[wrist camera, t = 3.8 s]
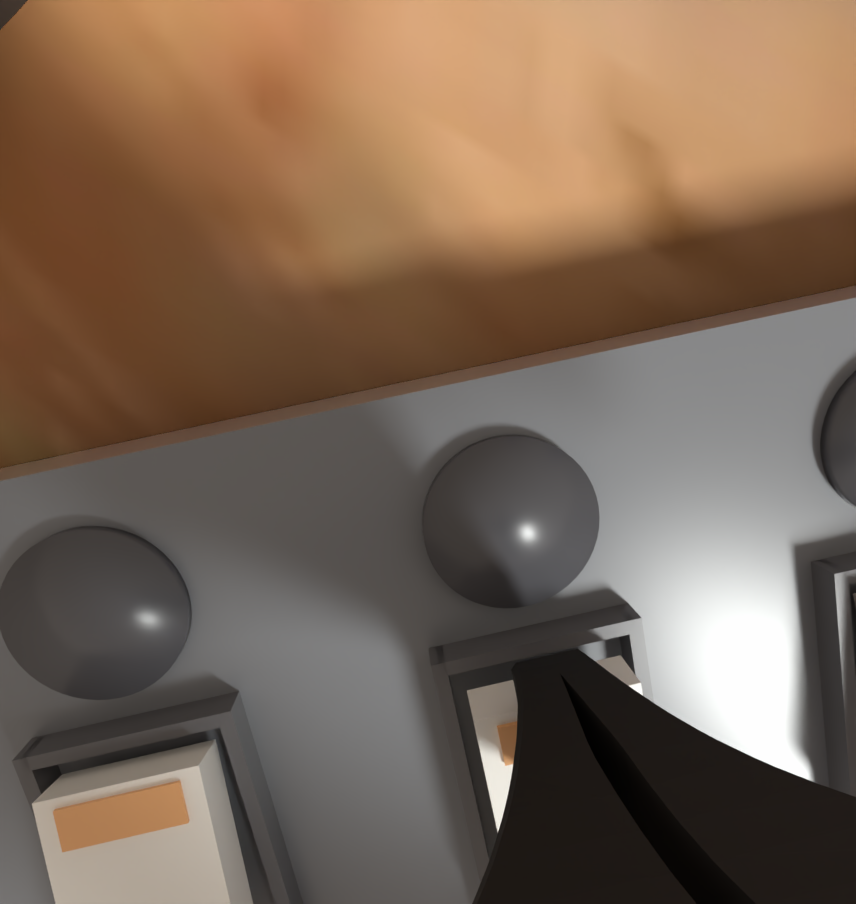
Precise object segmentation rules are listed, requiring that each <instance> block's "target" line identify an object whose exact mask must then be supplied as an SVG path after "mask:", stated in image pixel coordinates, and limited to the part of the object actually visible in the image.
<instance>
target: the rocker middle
mask: <svg viewBox="0 0 856 904" xmlns="http://www.w3.org/2000/svg"><path fill="white" fill-rule="evenodd" d="M595 662H597V663H598V664H599V665H601V666H602V667H603V668H605V669H606V670H607V671H609V672H610V673H611V674H613V675H614V676H616V677H617V678H618V679H620V680H621V681H622V682H624V683H625V684H627V685H628V686H630V687H631V688H632V689H634V690H635V691H637V692H638V693H640V694H641V695H643V693H642V686H641V682H640V681H639V679H638V678H637V677H636V675H635V674H634V673H633V671H632V670H631V669H630V667H629V666H628V665H627V663H626V662H625V661H624V659H623V658H622V657H621V655H619V656H615V657H611V658H606V659H602V660H598V661H595ZM467 694H468V699H469V703H470V708H471V713H472V717H473V722H474V727H475V731H476V736H477V740H478V745H479V750H480V754H481V759H482V764H483V768H484V773H485V778H486V782H487V787H488V791H489V796H490V801H491V805H492V810H493V815H494V819H495V824H496V828H497V833H498V831H499V827H500V824H501V821H502V817H503V813H504V809H505V805H506V800H507V796H508V791H509V786H510V781H511V775H512V770H513V762H514V754H515V746H516V737H517V713H518V703H517V697H516V692H515V687H514V681H513V680H510V681H506V682H501V683H497V684H493V685H488V686H484V687H480V688H475V689H471V690H467Z"/></svg>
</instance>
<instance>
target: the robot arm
mask: <svg viewBox="0 0 856 904" xmlns="http://www.w3.org/2000/svg"><path fill="white" fill-rule="evenodd" d="M511 671H512V676H513V681H514V687H515V692H516V697H517V703H518V713H517V737H516V746H515V754H514V762H513V770H512V775H511V781H510V786H509V791H508V796H507V800H506V805H505V809H504V813H503V817H502V821H501V824H500V827H499V831H498V834H497V838H496V841H495V845H494V848H493V851H492V854H491V857H490V860H489V863H488V866H487V868H486V871H485V873H484V876H483V878H482V881H481V883H480V886H479V888H478V891H477V893H476V896H475V898H474V901H473V903H472V904H856V797H855V796H852V795H849V794H846V793H843V792H840V791H837V790H834V789H832V788H829V787H826V786H823V785H820V784H817V783H815V782H812V781H810V780H807V779H805V778H802V777H800V776H797V775H795V774H792V773H790V772H787V771H784V770H782V769H779V768H777V767H774V766H772V765H770V764H768V763H765V762H763V761H761V760H758V759H756V758H754V757H752V756H750V755H747V754H745V753H743V752H741V751H739V750H737V749H735V748H733V747H731V746H729V745H727V744H725V743H723V742H721V741H719V740H716V739H715V738H713V737H711V736H709V735H707V734H705V733H703V732H701V731H700V730H698V729H696V728H694V727H693V726H691V725H689V724H687V723H686V722H684V721H682V720H681V719H679V718H677V717H675V716H674V715H672V714H670V713H669V712H667V711H666V710H664V709H662V708H661V707H659V706H658V705H656V704H655V703H653V702H652V701H650V700H649V699H647V698H646V697H644V696H643V695H641V694H640V693H638V692H637V691H635V690H634V689H632V688H631V687H630V686H628V685H627V684H625V683H624V682H622V681H621V680H620V679H618V678H617V677H616V676H614V675H613V674H611V673H610V672H609V671H607V670H606V669H605V668H603V667H602V666H601V665H599V664H598V663H597V662H595V661H594V660H593V659H591V658H590V657H589V656H587V655H586V654H585V653H583V652H582V651H580V650H579V649H574V650H569V651H565V652H561V653H556V654H552V655H548V656H543V657H539V658H535V659H530V660H526V661H521V662H517V663H515V665H514V666H513V668H512V669H511Z"/></svg>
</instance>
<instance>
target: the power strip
mask: <svg viewBox="0 0 856 904" xmlns="http://www.w3.org/2000/svg"><path fill="white" fill-rule="evenodd" d="M854 593H856V285H855V286H850V287H846V288H841V289H836V290H832V291H827V292H822V293H818V294H813V295H808V296H804V297H799V298H794V299H790V300H785V301H780V302H776V303H771V304H766V305H762V306H757V307H752V308H748V309H743V310H738V311H734V312H729V313H724V314H719V315H715V316H710V317H705V318H701V319H696V320H691V321H687V322H682V323H677V324H673V325H668V326H663V327H659V328H654V329H649V330H645V331H640V332H635V333H631V334H626V335H621V336H617V337H612V338H607V339H603V340H598V341H593V342H589V343H584V344H579V345H575V346H570V347H565V348H560V349H556V350H551V351H546V352H542V353H537V354H532V355H528V356H523V357H518V358H514V359H509V360H504V361H500V362H495V363H490V364H486V365H481V366H476V367H472V368H467V369H462V370H458V371H453V372H448V373H444V374H439V375H434V376H430V377H425V378H420V379H416V380H411V381H406V382H401V383H397V384H392V385H387V386H383V387H378V388H373V389H369V390H364V391H359V392H355V393H350V394H345V395H341V396H336V397H331V398H327V399H322V400H317V401H313V402H308V403H303V404H299V405H294V406H289V407H285V408H280V409H275V410H271V411H266V412H261V413H257V414H252V415H247V416H242V417H238V418H233V419H228V420H224V421H219V422H214V423H210V424H205V425H200V426H196V427H191V428H186V429H182V430H177V431H172V432H168V433H163V434H158V435H154V436H149V437H144V438H140V439H135V440H130V441H126V442H121V443H116V444H112V445H107V446H102V447H98V448H93V449H88V450H83V451H79V452H74V453H69V454H65V455H60V456H55V457H51V458H46V459H41V460H37V461H32V462H27V463H23V464H18V465H13V466H9V467H4V468H0V904H55V899H54V895H53V891H52V887H51V883H50V878H49V874H48V870H47V866H46V862H45V857H44V853H43V849H42V845H41V841H40V836H39V832H38V828H37V824H36V820H35V815H34V811H33V807H32V803H33V802H34V801H35V800H36V799H37V798H38V797H39V796H40V795H41V794H42V793H43V792H44V791H45V790H46V789H48V788H49V787H50V786H51V785H52V784H53V783H54V782H55V781H56V780H57V779H58V778H59V777H60V776H61V775H62V774H66V773H70V772H75V771H79V770H83V769H88V768H92V767H96V766H101V765H105V764H110V763H114V762H118V761H123V760H127V759H131V758H136V757H140V756H145V755H149V754H153V753H158V752H162V751H166V750H171V749H175V748H180V747H184V746H188V745H193V744H197V743H201V742H206V741H210V740H215V739H216V744H217V748H218V752H219V757H220V761H221V765H222V770H223V774H224V778H225V783H226V787H227V792H228V796H229V800H230V805H231V809H232V813H233V818H234V822H235V826H236V831H237V835H238V840H239V844H240V848H241V853H242V857H243V861H244V866H245V870H246V874H247V879H248V883H249V888H250V892H251V896H252V901H253V904H472V903H473V901H474V898H475V896H476V893H477V891H478V888H479V886H480V883H481V881H482V878H483V876H484V873H485V871H486V868H487V866H488V863H489V860H490V857H491V854H492V851H493V848H494V845H495V841H496V838H497V834H498V833H497V828H496V824H495V819H494V815H493V810H492V805H491V801H490V796H489V791H488V787H487V782H486V778H485V773H484V768H483V764H482V759H481V754H480V750H479V745H478V740H477V736H476V731H475V727H474V722H473V717H472V713H471V708H470V703H469V699H468V694H467V690H471V689H475V688H480V687H484V686H488V685H493V684H497V683H501V682H506V681H510V680H513V676H512V671H511V669H512V668H513V666H514V665H515V663H517V662H521V661H526V660H530V659H535V658H539V657H543V656H548V655H552V654H556V653H561V652H565V651H569V650H574V649H579V650H580V651H582V652H583V653H585V654H586V655H587V656H589V657H590V658H591V659H593V660H594V661H598V660H602V659H606V658H611V657H615V656H619V655H621V657H622V658H623V659H624V661H625V662H626V663H627V665H628V666H629V667H630V669H631V670H632V671H633V673H634V674H635V675H636V677H637V678H638V679H639V681H640V682H641V686H642V693H643V696H644V697H646V698H647V699H649V700H650V701H652V702H653V703H655V704H656V705H658V706H659V707H661V708H662V709H664V710H666V711H667V712H669V713H670V714H672V715H674V716H675V717H677V718H679V719H681V720H682V721H684V722H686V723H687V724H689V725H691V726H693V727H694V728H696V729H698V730H700V731H701V732H703V733H705V734H707V735H709V736H711V737H713V738H715V739H716V740H719V741H721V742H723V743H725V744H727V745H729V746H731V747H733V748H735V749H737V750H739V751H741V752H743V753H745V754H747V755H750V756H752V757H754V758H756V759H758V760H761V761H763V762H765V763H768V764H770V765H772V766H774V767H777V768H779V769H782V770H784V771H787V772H790V773H792V774H795V775H797V776H800V777H802V778H805V779H807V780H810V781H812V782H815V783H817V784H820V785H823V786H826V787H829V788H832V789H834V790H837V791H840V792H843V793H846V794H849V795H852V796H855V797H856V607H855V602H854V597H853V594H854Z"/></svg>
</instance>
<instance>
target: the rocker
mask: <svg viewBox="0 0 856 904" xmlns="http://www.w3.org/2000/svg"><path fill="white" fill-rule="evenodd" d="M32 807H33V811H34V815H35V820H36V824H37V828H38V832H39V836H40V841H41V845H42V849H43V853H44V857H45V862H46V866H47V870H48V874H49V878H50V883H51V887H52V891H53V895H54V899H55V904H253V901H252V896H251V892H250V888H249V883H248V879H247V874H246V870H245V866H244V861H243V857H242V853H241V848H240V844H239V840H238V835H237V831H236V826H235V822H234V818H233V813H232V809H231V805H230V800H229V796H228V792H227V787H226V783H225V778H224V774H223V770H222V765H221V761H220V757H219V752H218V748H217V744H216V739H215V740H210V741H206V742H201V743H197V744H193V745H188V746H184V747H180V748H175V749H171V750H166V751H162V752H158V753H153V754H149V755H145V756H140V757H136V758H131V759H127V760H123V761H118V762H114V763H110V764H105V765H101V766H96V767H92V768H88V769H83V770H79V771H75V772H70V773H66V774H62V775H61V776H60V777H59V778H58V779H57V780H56V781H55V782H54V783H53V784H52V785H51V786H50V787H49V788H48V789H46V790H45V791H44V792H43V793H42V794H41V795H40V796H39V797H38V798H37V799H36V800H35V801H34V802H33V803H32Z"/></svg>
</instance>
